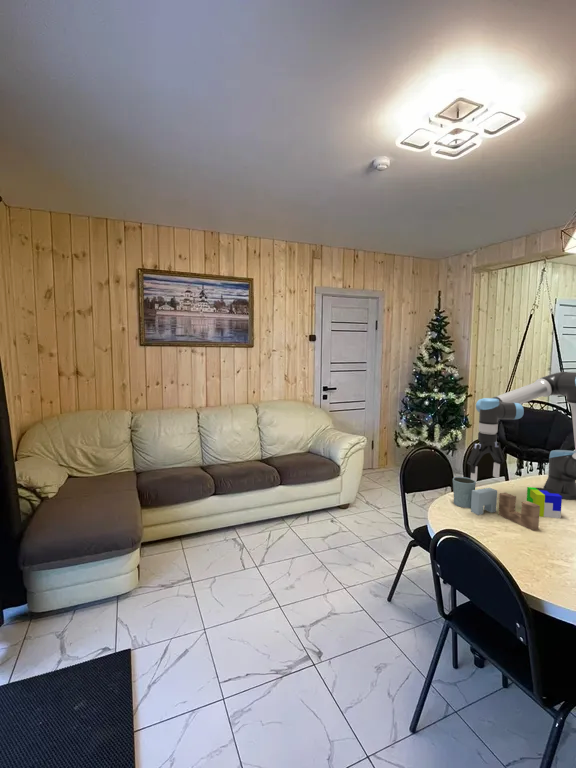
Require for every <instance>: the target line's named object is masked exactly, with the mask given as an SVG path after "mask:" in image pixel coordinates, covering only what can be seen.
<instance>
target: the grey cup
mask: <svg viewBox="0 0 576 768" xmlns="http://www.w3.org/2000/svg"><path fill="white" fill-rule="evenodd" d="M476 484H477V481H474V480H471V477H466V476H454V477H453V478H452V488H453V504H454V505H455V506H456V507H461V508H465V509H471V499H472V490H476Z"/></svg>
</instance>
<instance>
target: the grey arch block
mask: <svg viewBox="0 0 576 768" xmlns="http://www.w3.org/2000/svg"><path fill="white" fill-rule="evenodd" d="M497 501H498V490H497V489H495V488H491V487H486V488H478V489H475V490H472V499H471V508H470V512H471V513H473V514H475V515H477V516H479V515H484V511H487V512H489V513H495V512H496V513H497V504H498V503H497Z"/></svg>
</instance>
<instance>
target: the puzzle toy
mask: <svg viewBox="0 0 576 768" xmlns="http://www.w3.org/2000/svg"><path fill="white" fill-rule="evenodd" d="M526 489H527V490H526V501H529V502H531V503H534V504H537V505H539V506H540V512H539V518H550V519H561V515H562V505H563V504H562V502H563V499H562V496H561V495H559V494H558V493H556V492H555V491H554V490H552V489H547V488H543V487H533V486H532V487H531V486H527V487H526Z"/></svg>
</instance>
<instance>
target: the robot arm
mask: <svg viewBox="0 0 576 768" xmlns="http://www.w3.org/2000/svg"><path fill="white" fill-rule="evenodd" d="M550 396H564V397H566V402H567V403H568V404H569V405H570V406H571V407H570V409H571V416H572V417H571V419H572V428H573V430H572V431H573V438H574V439H573V440H574V448H575V450H570V449H569V450H567V449H555V450H554V449H553V450H551V451H550V453H549V457H548V474H547V479H546V481H545V483H544V485H543V487H542V488H547V489H552V490H554V491H555V492H556V493H558V494H559V495H561V496H562V500H576V371H558V372H555V373H552V374H548V375H545V376H542V377H540V378H537V379H536V380H535V382H532V383H528V384H526V385H524V386H521V387H518V388H515V389H512V390H511V391H507V392H504V393H502V394H499V395H496V396H493V397H483V398H479V399H478V400H477V401H476V403H475V409H476V411H477V412H478V413H479V414H478V415H479V416H478V417H479V418H478V433H477V434H478V435H477V440H478V441H479V443H475V442H474V443H473V444H472V445H473V446H472V450H471V452H470V455H469V457H468V459H467V462H466V464H467V465H469V466H470V467H469V468H470V471H469V472H470V478H471V480H474V481H476V482H477V480H478V466H477V465H478V464H479V462H480V460H481V459H482V458H483V456H485V455H487V454H490V456H491V457H492V459H493V461H494V462H493V469H492V477H494V478H496V479H500V471H501V465H503V464H504V462H505V457H504V454H503V451H502V448H501V442H497V440H498V434H497V433H498V431H499V430H498V426H499V420H514V421H515V420H519V419H521V418H522V417H523V416H524V413H525V412H524V411H525V410H524V406H523V405H522V404H524V403H525V404H526V403H528V402H530V401H533V400H536V399H538V398H542V397H545V398H547V397H550Z"/></svg>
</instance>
